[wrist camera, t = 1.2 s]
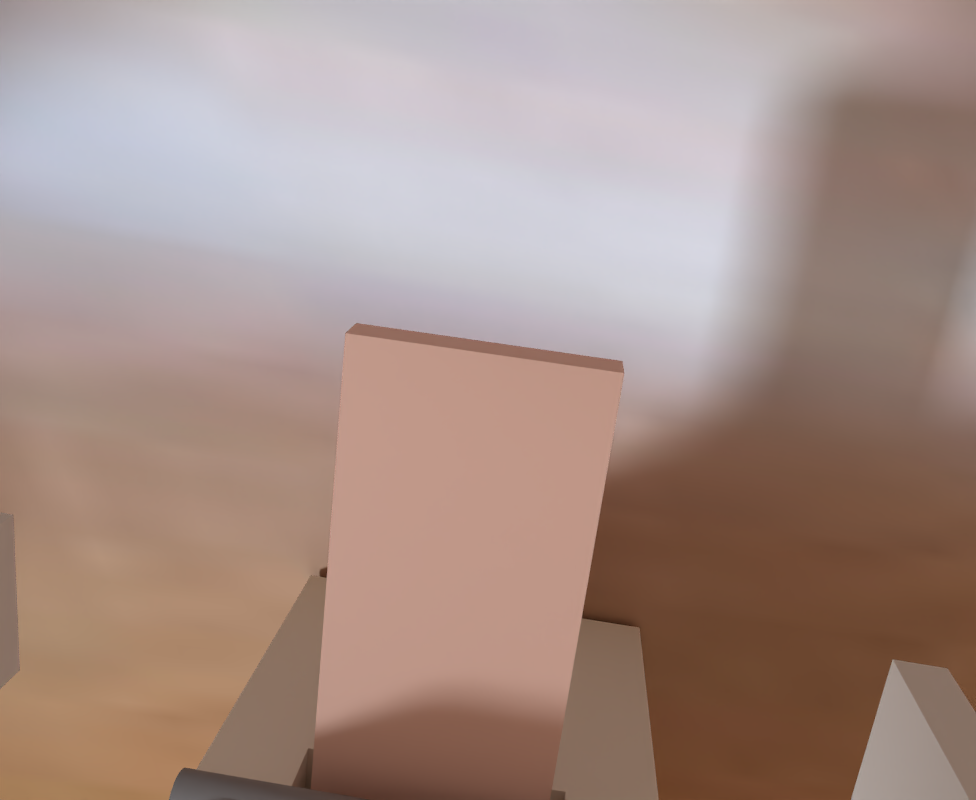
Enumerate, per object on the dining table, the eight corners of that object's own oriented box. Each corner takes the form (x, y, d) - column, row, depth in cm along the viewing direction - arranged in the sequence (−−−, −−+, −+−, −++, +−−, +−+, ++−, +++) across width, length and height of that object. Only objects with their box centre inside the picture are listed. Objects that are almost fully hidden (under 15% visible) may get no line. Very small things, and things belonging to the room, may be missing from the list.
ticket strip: (295, 1089, 28) (285, 1123, 27) (356, 323, 21) (345, 333, 20) (490, 1126, 28) (486, 1162, 27) (622, 361, 20) (624, 372, 19)
